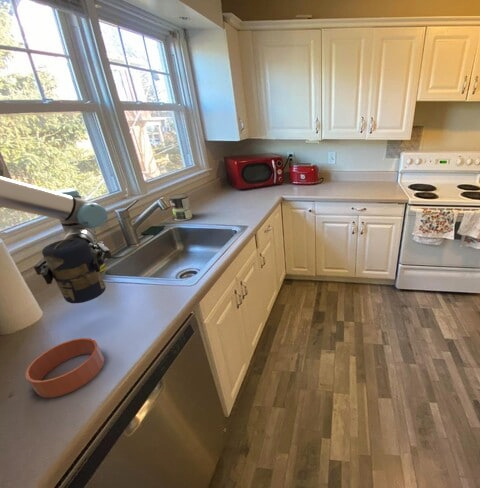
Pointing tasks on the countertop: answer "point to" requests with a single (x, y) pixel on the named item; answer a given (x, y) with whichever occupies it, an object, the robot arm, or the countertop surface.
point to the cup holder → (71, 378)
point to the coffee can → (180, 207)
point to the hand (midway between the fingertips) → (72, 273)
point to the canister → (74, 270)
